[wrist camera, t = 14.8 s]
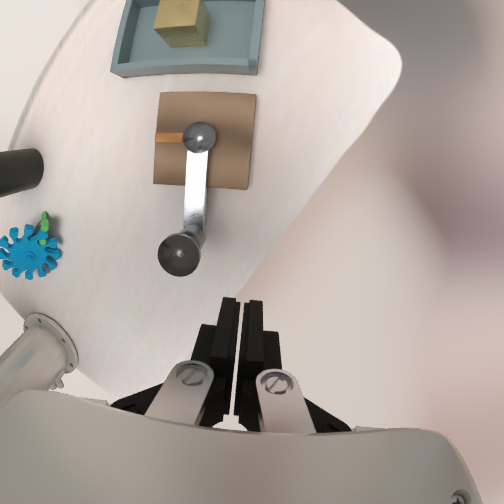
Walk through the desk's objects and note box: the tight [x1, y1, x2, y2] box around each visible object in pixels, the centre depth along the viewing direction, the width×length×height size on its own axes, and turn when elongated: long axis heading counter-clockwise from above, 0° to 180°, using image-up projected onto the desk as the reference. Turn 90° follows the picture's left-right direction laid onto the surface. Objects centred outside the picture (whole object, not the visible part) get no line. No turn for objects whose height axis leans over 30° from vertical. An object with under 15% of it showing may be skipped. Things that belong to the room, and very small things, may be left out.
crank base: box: [153, 92, 256, 190], centre depth 28 cm, size 10×10×2 cm
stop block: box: [153, 0, 211, 48], centre depth 21 cm, size 4×4×6 cm
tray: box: [110, 0, 265, 78], centre depth 23 cm, size 11×16×4 cm
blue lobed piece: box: [0, 212, 60, 280], centre depth 31 cm, size 11×6×10 cm
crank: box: [158, 122, 217, 277], centre depth 25 cm, size 13×4×7 cm, turn 175°
